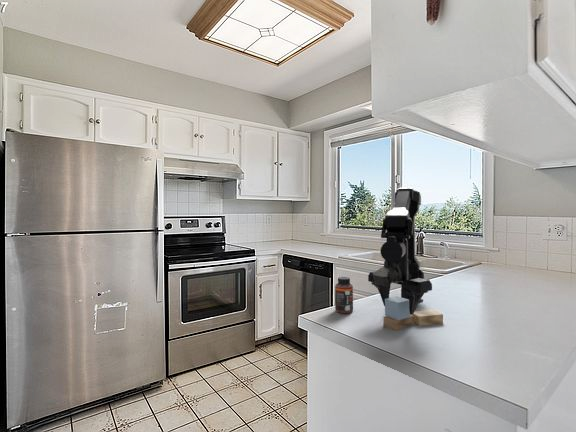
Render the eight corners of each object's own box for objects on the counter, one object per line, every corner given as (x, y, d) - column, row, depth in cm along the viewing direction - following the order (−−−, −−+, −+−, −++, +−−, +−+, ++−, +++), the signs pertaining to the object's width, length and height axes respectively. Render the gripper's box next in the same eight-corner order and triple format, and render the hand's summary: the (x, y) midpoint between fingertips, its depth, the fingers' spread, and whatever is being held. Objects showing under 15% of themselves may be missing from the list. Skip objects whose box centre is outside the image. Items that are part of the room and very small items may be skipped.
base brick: (401, 321, 101) (401, 311, 101) (413, 325, 98) (413, 315, 97) (383, 326, 97) (383, 316, 97) (395, 331, 93) (395, 321, 93)
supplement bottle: (353, 314, 108) (352, 280, 107) (334, 313, 109) (334, 279, 108) (353, 309, 113) (352, 276, 113) (335, 308, 115) (335, 275, 114)
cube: (396, 312, 101) (396, 296, 100) (410, 316, 96) (410, 299, 96) (385, 315, 98) (384, 298, 98) (398, 320, 94) (398, 302, 94)
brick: (433, 319, 103) (433, 309, 102) (443, 324, 98) (442, 314, 98) (410, 321, 101) (410, 311, 101) (418, 326, 97) (418, 316, 96)
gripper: (354, 256, 100) (355, 307, 101) (406, 264, 85) (407, 324, 85) (380, 252, 106) (380, 300, 107) (433, 259, 91) (433, 316, 91)
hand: (398, 309), depth 97 cm, fingers open, 9 cm apart
